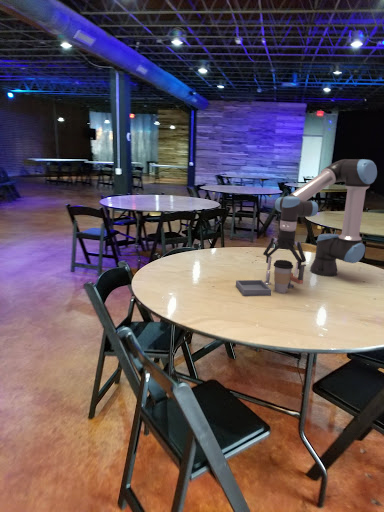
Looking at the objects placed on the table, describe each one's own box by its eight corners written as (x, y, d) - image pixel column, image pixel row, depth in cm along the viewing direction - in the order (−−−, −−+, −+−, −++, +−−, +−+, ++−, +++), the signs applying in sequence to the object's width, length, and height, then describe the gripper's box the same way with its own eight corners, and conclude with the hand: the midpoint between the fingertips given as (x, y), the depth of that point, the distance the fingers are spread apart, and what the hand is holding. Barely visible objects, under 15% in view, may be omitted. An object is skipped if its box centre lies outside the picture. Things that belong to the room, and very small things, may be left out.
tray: (261, 285, 176) (261, 280, 175) (270, 295, 163) (271, 289, 163) (235, 285, 174) (236, 280, 173) (243, 296, 161) (244, 290, 160)
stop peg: (269, 282, 182) (270, 270, 180) (272, 284, 178) (273, 272, 176) (262, 282, 181) (263, 270, 179) (264, 284, 177) (266, 272, 176)
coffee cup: (290, 295, 164) (294, 265, 160) (270, 293, 166) (274, 263, 162) (289, 288, 173) (293, 260, 169) (270, 286, 175) (273, 258, 171)
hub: (289, 282, 182) (290, 275, 181) (296, 288, 174) (297, 280, 173) (275, 283, 181) (276, 275, 180) (281, 288, 173) (282, 281, 172)
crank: (278, 276, 178) (280, 259, 175) (286, 275, 180) (288, 258, 178) (297, 284, 166) (299, 266, 164) (305, 283, 169) (308, 264, 167)
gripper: (259, 227, 164) (255, 269, 170) (312, 234, 152) (306, 279, 158) (264, 225, 171) (260, 265, 176) (316, 232, 159) (309, 275, 164)
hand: (282, 272), depth 167 cm, fingers open, 13 cm apart
